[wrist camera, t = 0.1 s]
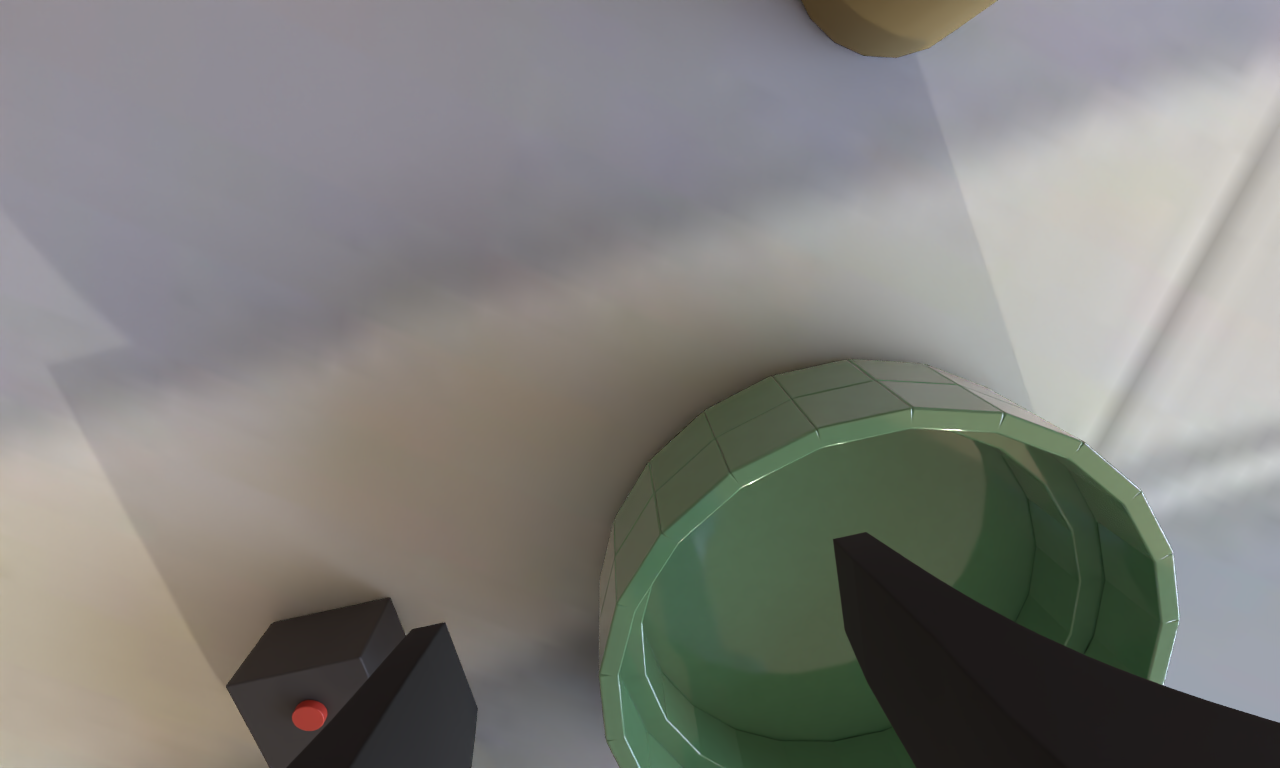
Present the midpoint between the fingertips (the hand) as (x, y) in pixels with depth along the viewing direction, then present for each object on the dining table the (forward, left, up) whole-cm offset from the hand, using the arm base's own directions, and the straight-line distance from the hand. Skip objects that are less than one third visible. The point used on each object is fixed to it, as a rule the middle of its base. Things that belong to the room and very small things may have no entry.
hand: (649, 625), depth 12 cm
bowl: (-8, -6, -10) cm, 14 cm away
